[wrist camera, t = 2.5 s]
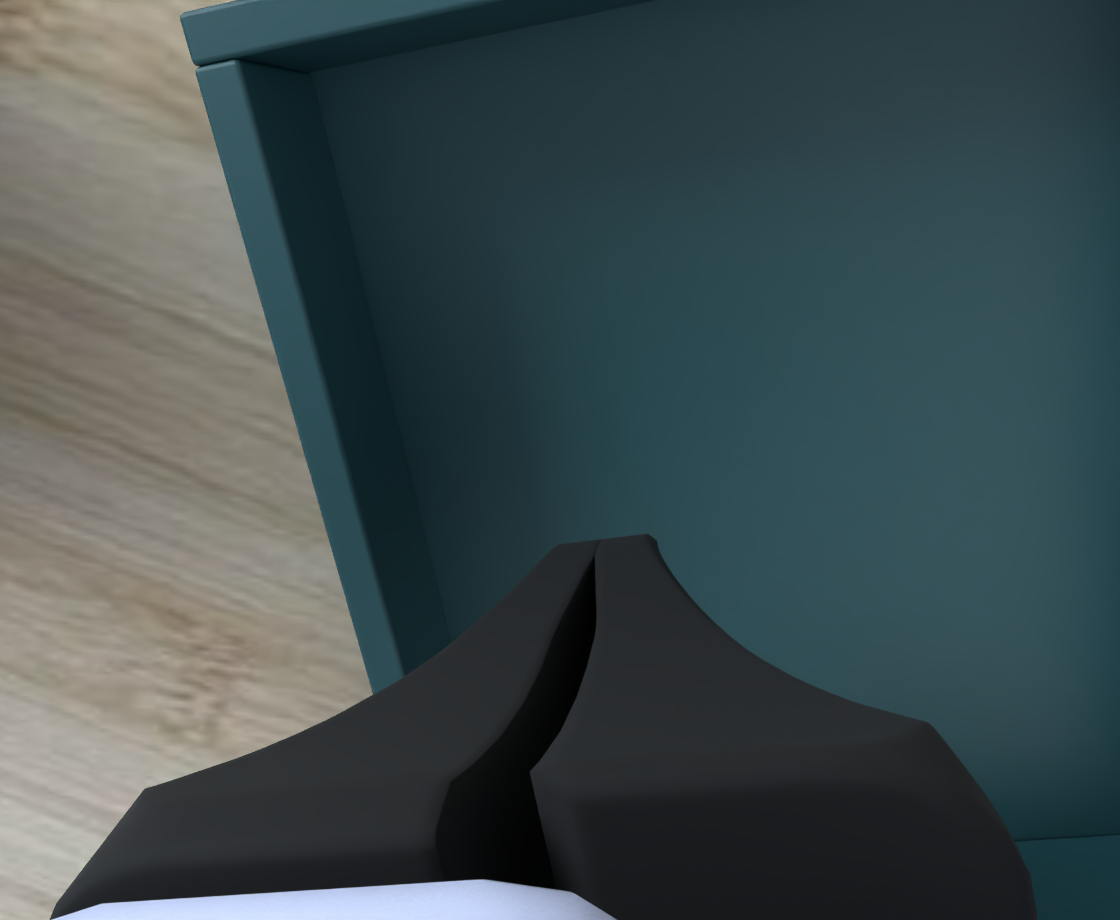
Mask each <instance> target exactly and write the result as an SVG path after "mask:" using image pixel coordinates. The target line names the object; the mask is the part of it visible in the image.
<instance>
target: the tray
mask: <svg viewBox="0 0 1120 920" xmlns="http://www.w3.org/2000/svg"><path fill="white" fill-rule="evenodd" d="M180 20H181V23H182V27H183V30H184V34H185V37H186V41H187V44H188V48H189V51H190V55H191V58H192V61H193V63H194V64H195V65H196V66H200V67H199V68H198V69H196V76H197V79H198V83H199V86H200V90H201V93H202V97H203V100H204V104H205V107H206V111H207V114H208V118H209V121H210V125H211V128H212V132H213V135H214V139H215V142H216V146H217V149H218V153H219V156H220V160H221V163H222V167H223V170H224V174H225V177H226V181H227V184H228V188H229V191H230V195H231V198H232V202H233V205H234V209H235V212H236V216H237V219H238V223H239V226H240V230H241V233H242V237H243V240H244V244H245V247H246V251H247V254H248V258H249V261H250V265H251V268H252V272H253V275H254V279H255V282H256V286H257V289H258V293H259V296H260V300H261V303H262V307H263V310H264V314H265V317H266V321H267V324H268V328H269V331H270V335H271V338H272V342H273V345H274V349H275V352H276V356H277V359H278V363H279V366H280V370H281V373H282V377H283V380H284V384H285V387H286V391H287V394H288V398H289V401H290V405H291V408H292V412H293V415H294V419H295V422H296V426H297V429H298V433H299V436H300V440H301V443H302V447H303V450H304V454H305V457H306V461H307V464H308V468H309V471H310V475H311V478H312V482H313V485H314V489H315V492H316V496H317V499H318V503H319V506H320V510H321V513H322V517H323V520H324V524H325V527H326V531H327V534H328V538H329V541H330V545H331V548H332V552H333V555H334V559H335V562H336V566H337V569H338V573H339V576H340V580H341V583H342V587H343V590H344V594H345V597H346V601H347V604H348V608H349V611H350V615H351V618H352V622H353V625H354V629H355V632H356V636H357V639H358V643H359V646H360V650H361V653H362V657H363V660H364V664H365V667H366V671H367V674H368V678H369V681H370V685H371V688H372V692H373V695H374V694H375V693H377V692H379V691H381V690H383V689H384V688H386V687H388V686H390V685H392V684H393V683H395V682H396V681H398V680H400V679H401V678H403V677H404V676H406V675H407V674H409V673H410V672H412V671H413V670H415V669H416V668H418V667H419V666H420V665H422V664H423V663H425V662H426V661H428V660H429V659H431V658H432V657H434V656H435V655H436V654H438V653H439V652H440V651H442V650H443V649H444V648H446V647H447V646H448V645H449V644H451V643H452V642H453V641H455V640H456V639H457V638H458V637H459V636H460V635H462V634H463V633H464V632H465V631H466V630H467V629H469V628H470V627H471V626H472V625H473V624H474V623H475V622H477V621H478V620H479V619H480V618H481V617H482V616H484V615H485V614H486V613H487V612H488V611H489V610H490V609H492V608H493V607H494V606H495V605H496V604H497V603H498V602H499V601H500V600H501V599H502V598H503V597H504V596H505V595H506V594H507V593H509V592H510V591H511V590H512V589H513V588H514V587H515V586H516V585H517V584H518V583H519V582H520V581H521V580H522V579H523V578H524V577H525V576H526V575H527V574H528V573H529V572H530V571H531V570H532V569H533V568H534V567H535V566H536V565H537V563H538V562H539V561H540V560H541V559H542V558H543V557H544V556H545V555H546V554H547V553H548V552H549V551H551V550H552V549H553V548H554V547H555V546H557V545H558V544H565V543H573V542H582V541H590V540H598V539H607V538H615V537H624V536H632V535H640V534H649V535H650V536H652V537H653V538H654V539H656V540H657V542H658V548H659V551H660V553H661V555H662V557H663V559H664V561H665V563H666V564H667V566H668V567H669V569H670V571H671V572H672V574H673V575H674V576H675V578H676V579H677V580H678V582H679V583H680V584H681V585H682V587H683V588H684V589H685V590H686V592H687V593H688V594H689V596H690V597H691V598H692V599H693V600H694V601H695V602H696V604H697V605H698V606H699V607H700V608H701V609H702V610H703V611H704V612H705V613H706V614H707V615H708V616H709V617H710V618H711V619H712V620H713V621H714V622H715V623H716V624H717V625H718V626H719V627H720V628H721V629H723V630H724V631H725V632H726V633H727V634H728V635H729V636H731V637H732V638H733V639H734V640H735V641H737V642H738V643H739V644H741V645H742V646H743V647H745V648H746V649H747V650H748V651H750V652H751V653H753V654H755V655H756V656H758V657H759V658H761V659H763V660H764V661H766V662H768V663H770V664H772V665H773V666H775V667H777V668H779V669H780V670H782V671H784V672H786V673H787V674H789V675H791V676H793V677H795V678H798V679H800V680H802V681H804V682H806V683H808V684H810V685H813V686H815V687H817V688H820V689H822V690H825V691H827V692H830V693H832V694H835V695H838V696H840V697H843V698H845V699H848V700H850V701H853V702H856V703H859V704H863V705H866V706H870V707H874V708H877V709H881V710H885V711H888V712H892V713H896V714H899V715H903V716H906V717H910V718H914V719H917V720H921V721H925V722H928V723H929V724H931V725H932V726H933V727H934V728H935V729H936V731H937V732H938V733H939V734H940V736H941V737H942V738H943V739H944V740H945V742H946V743H947V744H948V746H949V747H950V748H951V749H952V751H953V752H954V753H955V755H956V756H957V757H958V758H959V760H960V761H961V762H962V764H963V765H964V766H965V767H966V769H967V770H968V771H969V773H970V774H971V775H972V777H973V778H974V780H975V781H976V782H977V784H978V785H979V786H980V788H981V789H982V791H983V792H984V793H985V795H986V796H987V797H988V799H989V800H990V802H991V803H992V805H993V806H994V808H995V810H996V811H997V813H998V814H999V816H1000V817H1001V819H1002V820H1003V822H1004V824H1005V825H1006V827H1007V829H1008V831H1009V833H1010V834H1011V836H1012V838H1013V840H1014V842H1015V844H1016V845H1017V847H1018V850H1019V852H1020V854H1021V857H1022V859H1023V861H1024V863H1025V865H1026V867H1027V869H1028V871H1029V872H1030V875H1031V881H1032V887H1033V892H1034V898H1035V903H1036V909H1037V920H1120V0H237V1H232V2H228V3H223V4H219V5H214V6H210V7H206V8H201V9H197V10H192V11H188V12H184V13H183V14H182V15H180Z"/></svg>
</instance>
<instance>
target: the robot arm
mask: <svg viewBox="0 0 1120 920" xmlns="http://www.w3.org/2000/svg"><path fill="white" fill-rule="evenodd" d="M50 920H1037V909H1036V903H1035V898H1034V892H1033V887H1032V881H1031V875H1030V872H1029V871H1028V869H1027V867H1026V865H1025V863H1024V861H1023V859H1022V857H1021V854H1020V852H1019V850H1018V847H1017V845H1016V844H1015V842H1014V840H1013V838H1012V836H1011V834H1010V833H1009V831H1008V829H1007V827H1006V825H1005V824H1004V822H1003V820H1002V819H1001V817H1000V816H999V814H998V813H997V811H996V810H995V808H994V806H993V805H992V803H991V802H990V800H989V799H988V797H987V796H986V795H985V793H984V792H983V791H982V789H981V788H980V786H979V785H978V784H977V782H976V781H975V780H974V778H973V777H972V775H971V774H970V773H969V771H968V770H967V769H966V767H965V766H964V765H963V764H962V762H961V761H960V760H959V758H958V757H957V756H956V755H955V753H954V752H953V751H952V749H951V748H950V747H949V746H948V744H947V743H946V742H945V740H944V739H943V738H942V737H941V736H940V734H939V733H938V732H937V731H936V729H935V728H934V727H933V726H932V725H931V724H929V723H928V722H925V721H921V720H917V719H914V718H910V717H906V716H903V715H899V714H896V713H892V712H888V711H885V710H881V709H877V708H874V707H870V706H866V705H863V704H859V703H856V702H853V701H850V700H848V699H845V698H843V697H840V696H838V695H835V694H832V693H830V692H827V691H825V690H822V689H820V688H817V687H815V686H813V685H810V684H808V683H806V682H804V681H802V680H800V679H798V678H795V677H793V676H791V675H789V674H787V673H786V672H784V671H782V670H780V669H779V668H777V667H775V666H773V665H772V664H770V663H768V662H766V661H764V660H763V659H761V658H759V657H758V656H756V655H755V654H753V653H751V652H750V651H748V650H747V649H746V648H745V647H743V646H742V645H741V644H739V643H738V642H737V641H735V640H734V639H733V638H732V637H731V636H729V635H728V634H727V633H726V632H725V631H724V630H723V629H721V628H720V627H719V626H718V625H717V624H716V623H715V622H714V621H713V620H712V619H711V618H710V617H709V616H708V615H707V614H706V613H705V612H704V611H703V610H702V609H701V608H700V607H699V606H698V605H697V604H696V602H695V601H694V600H693V599H692V598H691V597H690V596H689V594H688V593H687V592H686V590H685V589H684V588H683V587H682V585H681V584H680V583H679V582H678V580H677V579H676V578H675V576H674V575H673V574H672V572H671V571H670V569H669V567H668V566H667V564H666V563H665V561H664V559H663V557H662V555H661V553H660V551H659V548H658V542H657V540H656V539H654V538H653V537H652V536H650V535H649V534H640V535H632V536H624V537H615V538H607V539H598V540H590V541H582V542H573V543H565V544H558V545H557V546H555V547H554V548H553V549H552V550H551V551H549V552H548V553H547V554H546V555H545V556H544V557H543V558H542V559H541V560H540V561H539V562H538V563H537V565H536V566H535V567H534V568H533V569H532V570H531V571H530V572H529V573H528V574H527V575H526V576H525V577H524V578H523V579H522V580H521V581H520V582H519V583H518V584H517V585H516V586H515V587H514V588H513V589H512V590H511V591H510V592H509V593H507V594H506V595H505V596H504V597H503V598H502V599H501V600H500V601H499V602H498V603H497V604H496V605H495V606H494V607H493V608H492V609H490V610H489V611H488V612H487V613H486V614H485V615H484V616H482V617H481V618H480V619H479V620H478V621H477V622H475V623H474V624H473V625H472V626H471V627H470V628H469V629H467V630H466V631H465V632H464V633H463V634H462V635H460V636H459V637H458V638H457V639H456V640H455V641H453V642H452V643H451V644H449V645H448V646H447V647H446V648H444V649H443V650H442V651H440V652H439V653H438V654H436V655H435V656H434V657H432V658H431V659H429V660H428V661H426V662H425V663H423V664H422V665H420V666H419V667H418V668H416V669H415V670H413V671H412V672H410V673H409V674H407V675H406V676H404V677H403V678H401V679H400V680H398V681H396V682H395V683H393V684H392V685H390V686H388V687H386V688H384V689H383V690H381V691H379V692H377V693H375V694H374V695H372V696H370V697H368V698H366V699H365V700H363V701H361V702H359V703H357V704H356V705H354V706H352V707H350V708H348V709H347V710H345V711H343V712H341V713H339V714H338V715H336V716H334V717H332V718H330V719H328V720H326V721H323V722H321V723H319V724H317V725H315V726H313V727H311V728H308V729H306V730H304V731H302V732H300V733H298V734H296V735H293V736H291V737H288V738H286V739H284V740H281V741H279V742H277V743H274V744H272V745H269V746H267V747H265V748H262V749H260V750H257V751H255V752H252V753H250V754H247V755H244V756H242V757H239V758H237V759H234V760H231V761H228V762H225V763H222V764H219V765H216V766H213V767H210V768H207V769H204V770H201V771H198V772H195V773H192V774H189V775H187V776H184V777H181V778H178V779H175V780H172V781H169V782H166V783H163V784H159V785H156V786H153V787H149V788H146V789H144V790H143V791H142V793H141V794H140V795H139V797H138V798H137V799H136V801H135V802H134V803H133V805H132V806H131V807H130V808H129V810H128V811H127V812H126V814H125V815H124V816H123V818H122V819H121V820H120V821H119V823H118V824H117V825H116V827H115V828H114V829H113V831H112V832H111V833H110V834H109V836H108V837H107V838H106V840H105V841H104V842H103V844H102V845H101V846H100V847H99V849H98V850H97V851H96V853H95V854H94V855H93V857H92V858H91V859H90V860H89V862H88V863H87V864H86V866H85V867H84V868H83V870H82V871H81V872H80V873H79V875H78V876H77V877H76V879H75V880H74V881H73V883H72V884H71V885H70V886H69V888H68V889H67V890H66V892H65V893H64V894H63V896H62V897H61V898H60V899H59V901H58V902H57V903H56V906H55V908H54V910H53V913H52V915H51V918H50Z"/></svg>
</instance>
